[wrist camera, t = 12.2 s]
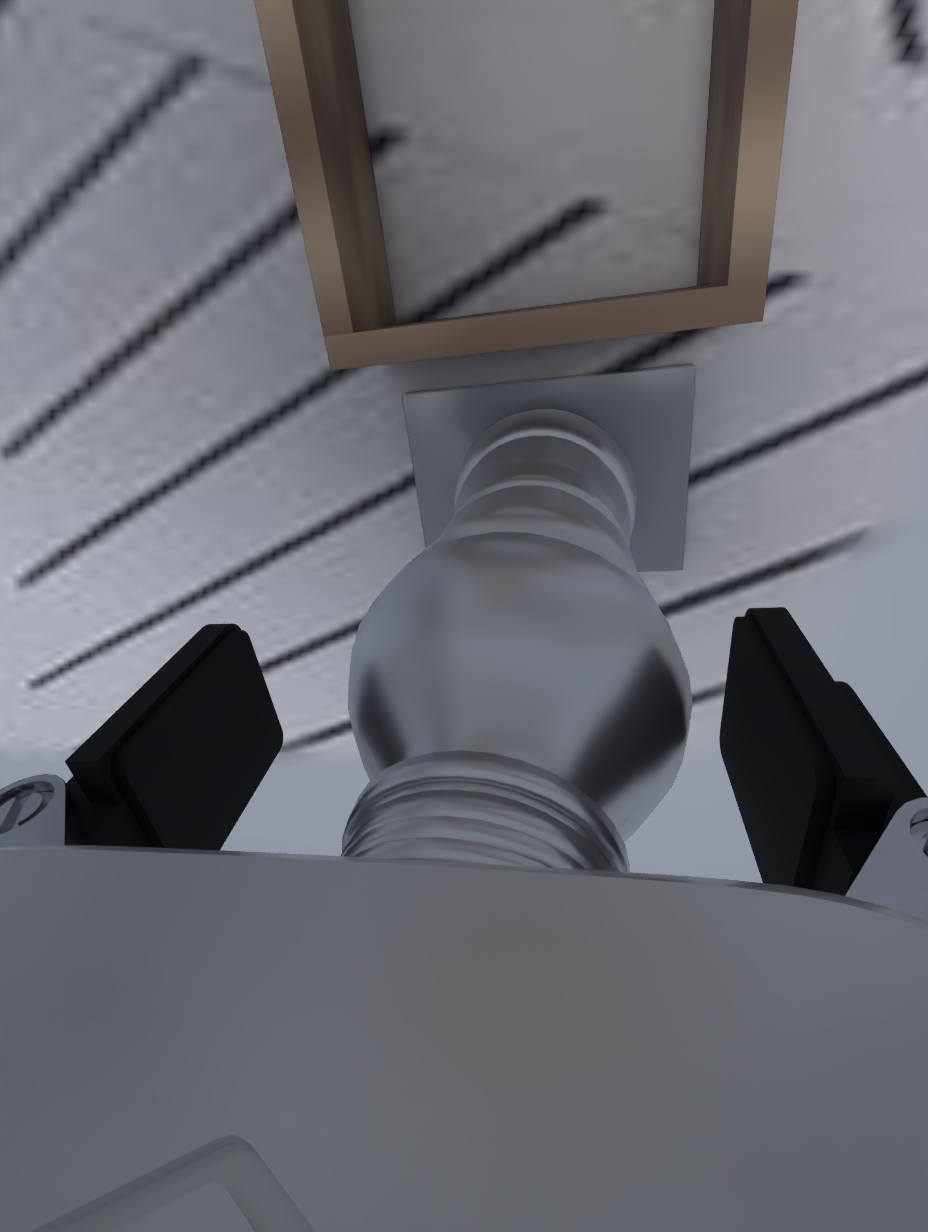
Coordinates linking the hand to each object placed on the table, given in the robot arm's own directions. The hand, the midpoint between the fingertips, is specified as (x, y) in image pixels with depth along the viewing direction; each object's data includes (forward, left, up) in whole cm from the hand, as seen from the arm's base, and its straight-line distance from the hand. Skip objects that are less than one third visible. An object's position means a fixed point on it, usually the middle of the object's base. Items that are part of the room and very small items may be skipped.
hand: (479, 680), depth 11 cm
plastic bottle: (0, +1, -15) cm, 15 cm away
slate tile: (0, +1, -15) cm, 15 cm away
